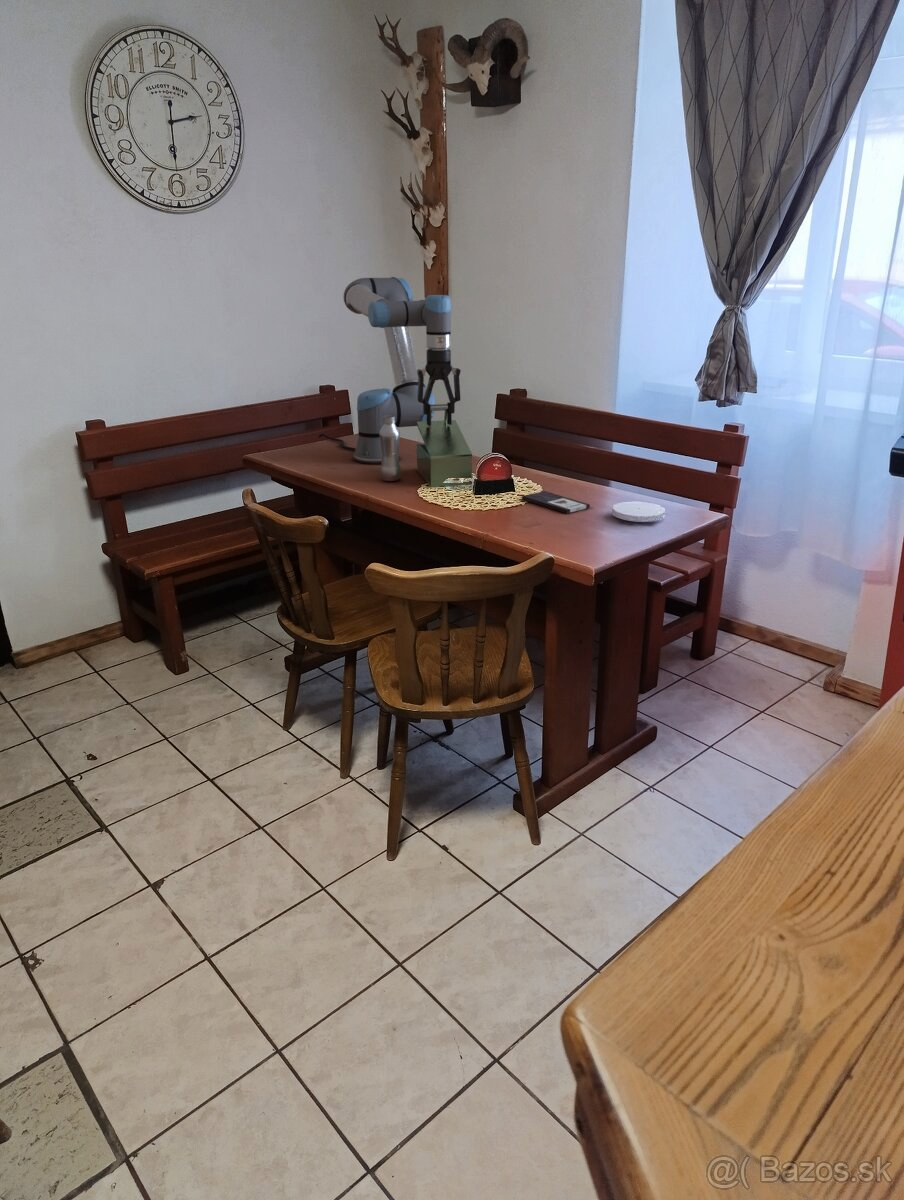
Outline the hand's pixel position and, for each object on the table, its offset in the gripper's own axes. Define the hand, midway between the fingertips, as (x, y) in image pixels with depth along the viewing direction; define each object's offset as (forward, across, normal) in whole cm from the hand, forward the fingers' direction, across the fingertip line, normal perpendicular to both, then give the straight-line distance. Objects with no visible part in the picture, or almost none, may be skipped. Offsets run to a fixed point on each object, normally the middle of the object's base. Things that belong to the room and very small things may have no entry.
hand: (439, 424), depth 258 cm
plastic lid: (+16, +41, -61) cm, 75 cm away
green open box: (+16, 0, -6) cm, 17 cm away
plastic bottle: (+16, -17, -6) cm, 24 cm away
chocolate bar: (+16, +24, -43) cm, 52 cm away
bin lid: (+4, 0, -6) cm, 7 cm away
